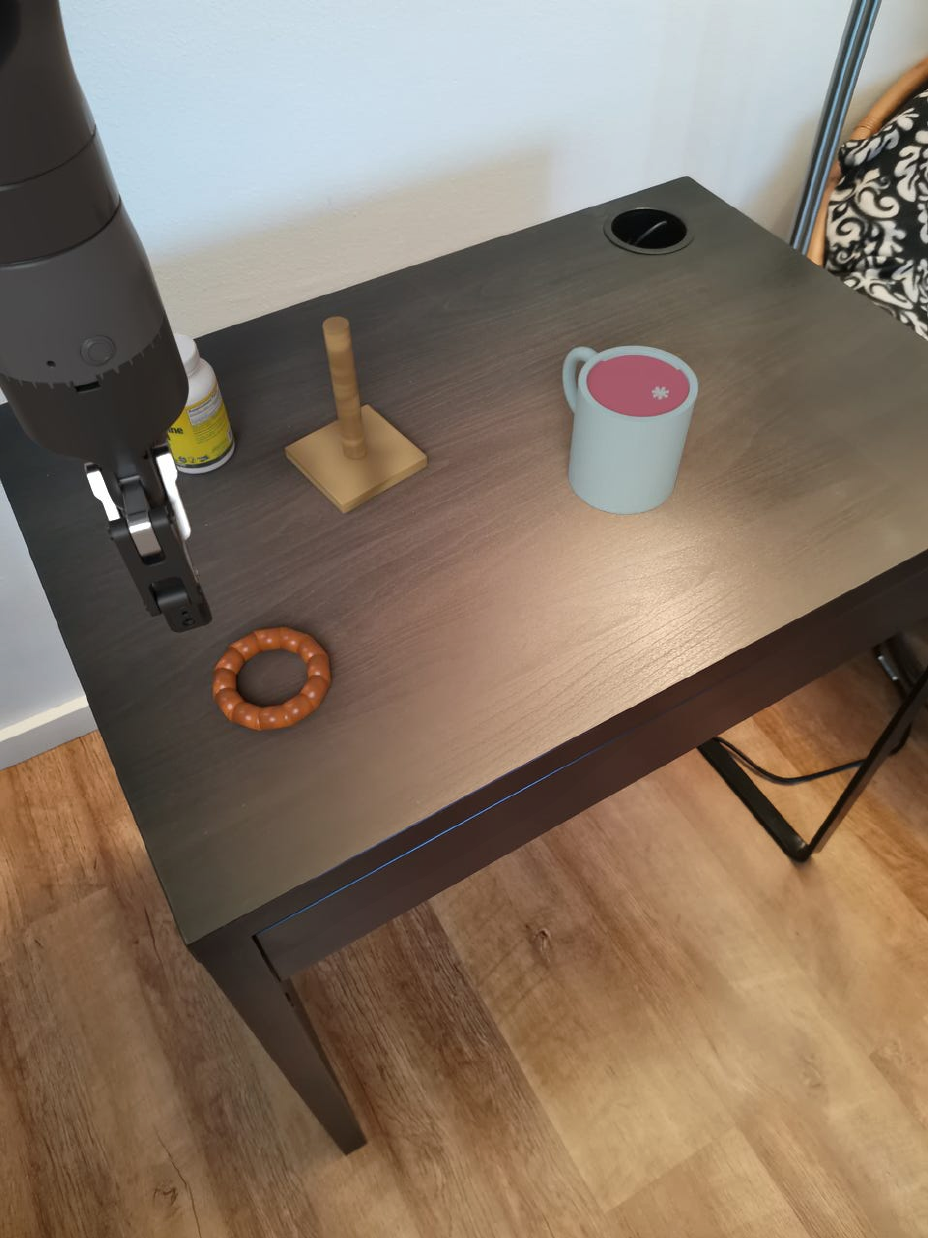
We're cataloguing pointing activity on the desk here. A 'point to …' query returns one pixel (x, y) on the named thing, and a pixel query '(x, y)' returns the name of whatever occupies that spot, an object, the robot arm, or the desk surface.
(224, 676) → the ring
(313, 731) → the desk surface
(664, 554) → the desk surface
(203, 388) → the pill bottle
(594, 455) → the mug
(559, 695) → the desk surface
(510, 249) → the desk surface
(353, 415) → the stand
